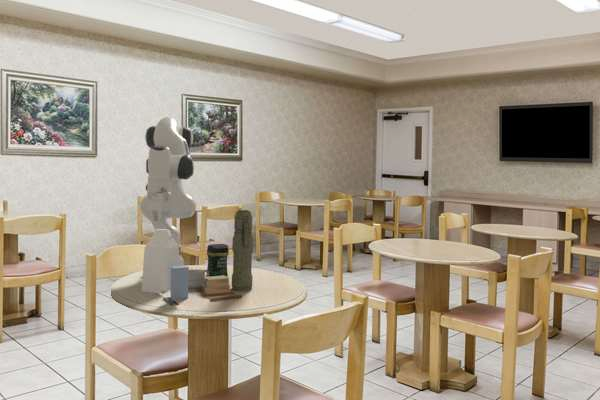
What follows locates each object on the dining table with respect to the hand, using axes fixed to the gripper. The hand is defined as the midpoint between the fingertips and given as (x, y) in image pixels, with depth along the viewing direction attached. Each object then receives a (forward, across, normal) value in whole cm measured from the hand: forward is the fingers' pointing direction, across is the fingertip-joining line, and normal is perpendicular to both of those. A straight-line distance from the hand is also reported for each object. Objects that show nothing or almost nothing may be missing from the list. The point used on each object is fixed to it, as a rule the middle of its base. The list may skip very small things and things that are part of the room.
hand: (159, 222), depth 207 cm
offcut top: (+27, -2, -24) cm, 36 cm away
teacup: (+31, +12, -20) cm, 39 cm away
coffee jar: (+31, +15, -31) cm, 47 cm away
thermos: (+31, -1, -36) cm, 48 cm away
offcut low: (+30, -2, -24) cm, 38 cm away
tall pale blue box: (+30, -5, -7) cm, 32 cm away
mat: (+31, -5, -7) cm, 32 cm away
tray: (+31, -6, -23) cm, 39 cm away
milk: (+31, +16, -6) cm, 36 cm away
